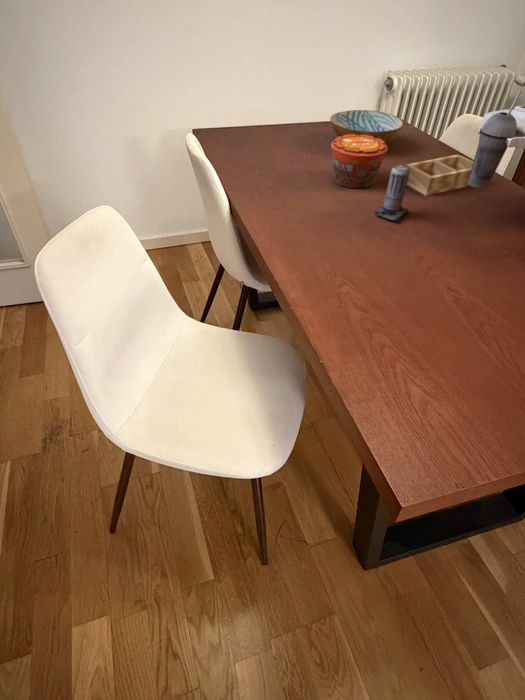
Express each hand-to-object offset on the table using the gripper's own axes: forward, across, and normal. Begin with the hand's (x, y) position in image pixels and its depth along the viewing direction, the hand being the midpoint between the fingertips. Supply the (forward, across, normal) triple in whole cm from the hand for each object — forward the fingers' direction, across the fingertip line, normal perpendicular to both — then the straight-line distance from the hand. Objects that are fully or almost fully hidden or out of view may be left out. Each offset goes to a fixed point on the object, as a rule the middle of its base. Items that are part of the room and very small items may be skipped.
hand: (493, 136), depth 90 cm
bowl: (-3, +58, -20) cm, 61 cm away
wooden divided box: (-9, +21, -20) cm, 30 cm away
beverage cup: (-1, 0, -11) cm, 11 cm away
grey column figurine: (+17, +7, -20) cm, 27 cm away
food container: (+15, +31, -20) cm, 40 cm away
